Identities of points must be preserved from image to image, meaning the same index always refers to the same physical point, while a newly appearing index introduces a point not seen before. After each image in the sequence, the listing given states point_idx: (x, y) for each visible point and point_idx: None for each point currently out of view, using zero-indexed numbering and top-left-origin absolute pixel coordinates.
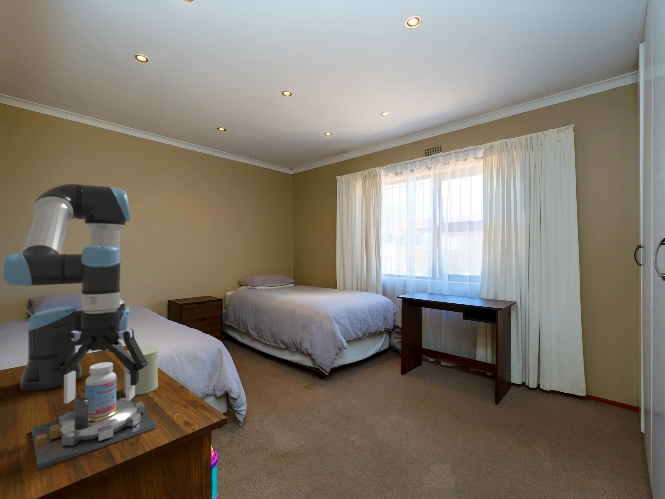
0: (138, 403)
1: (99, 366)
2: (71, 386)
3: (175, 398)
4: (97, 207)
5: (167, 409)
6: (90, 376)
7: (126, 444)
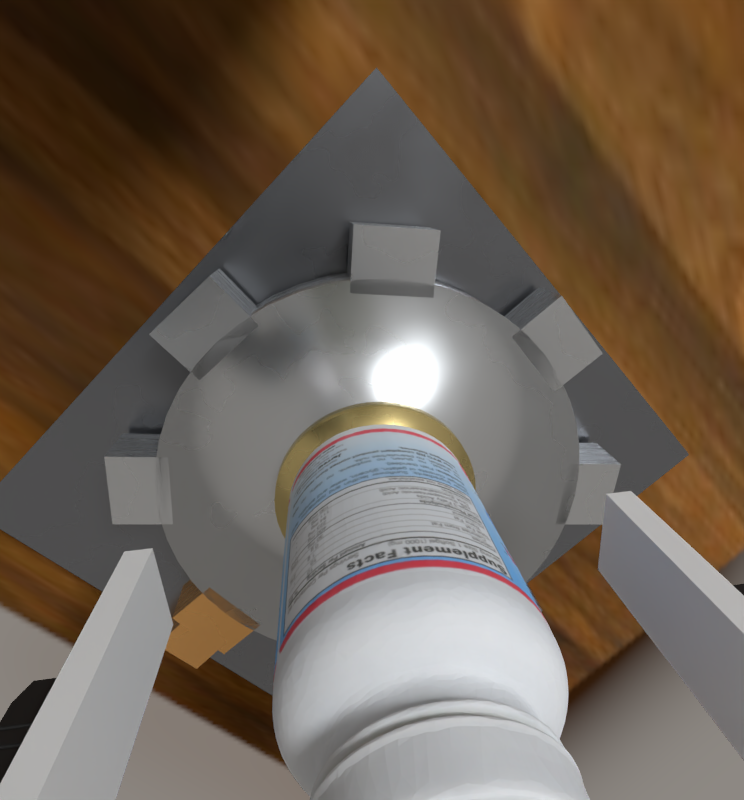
0: (550, 329)
1: None
2: (123, 693)
3: (695, 10)
4: None
5: (677, 222)
6: None
7: (581, 570)
